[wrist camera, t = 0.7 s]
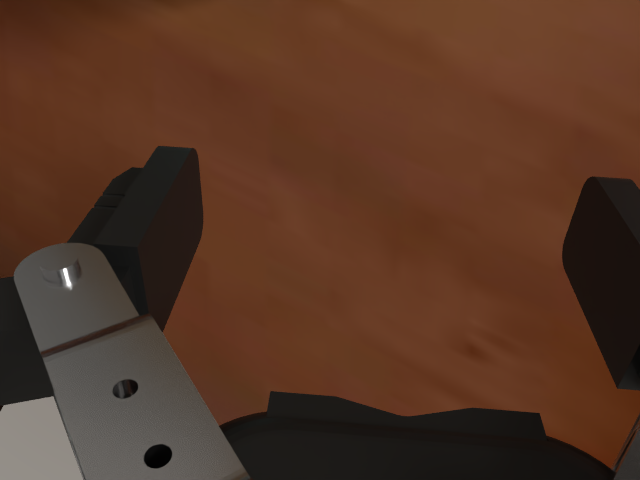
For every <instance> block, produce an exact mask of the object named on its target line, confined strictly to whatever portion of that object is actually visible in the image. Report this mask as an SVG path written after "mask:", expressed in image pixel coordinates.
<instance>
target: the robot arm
mask: <svg viewBox="0 0 640 480" xmlns="http://www.w3.org/2000/svg"><path fill="white" fill-rule="evenodd" d="M202 229H203V206H202V195H201V183H200V172H199V161H198V155H197V152H196V150H195V149H194V148H182V147H167V146H158V147H157V148H156V149H155V151H154V152H153V154H152V155H151V157H150V158H149V160H148V161H147V163H146V165H145V166H144V168H134V167H132V168H130V169H129V170H127V171H125V172H124V173H122V174H121V175H119V176H117V177H116V178H114V179H113V180H112V181H111V183H110V184H109V186H108V187H107V188H106V190H105V191H104V192H103V196H101V197H100V198H99V199H98V201H97V202H96V203H95V205H94V208H92V209H91V210H90V212H89V213H88V214H87V216H86V217H85V219H84V220H83V221H82V223H81V224H80V225H79V227H78V228H77V230H76V231H75V232H74V234H73V235H72V236H71V238H70V239H69V241H68V242H67V243H63V244H57V245H53V246H49V247H46V248H43V249H41V250H38V251H36V252H34V253H33V254H31V255H29V256H28V257H27V258H25V259H24V260H23V261H22V262H21V263H20V264H19V265H18V267H17V268H16V270H15V272H14V276H13V277H7V278H1V279H0V411H1V409H2V407H3V405H7V404H13V403H18V402H23V401H29V400H35V399H40V398H45V397H51V396H54V399H55V402H56V405H57V407H58V410H59V413H60V416H61V419H62V421H63V424H64V427H65V430H66V433H67V436H68V438H69V441H70V444H71V447H72V450H73V452H74V455H75V458H76V461H77V464H78V466H79V469H80V472H81V475H82V478H83V480H640V413H639V415H638V417H637V419H636V421H635V423H634V425H633V427H632V429H631V431H630V432H629V434H628V436H627V438H626V440H625V442H624V444H623V446H622V448H621V450H620V452H619V454H618V456H617V458H616V459H615V461H614V463H613V465H612V467H611V469H610V468H609V467H607V466H606V465H605V464H603V463H602V462H600V461H599V460H597V459H596V458H594V457H592V456H591V455H589V454H587V453H586V452H584V451H582V450H580V449H578V448H576V447H574V446H572V445H570V444H567V443H565V442H562V441H560V440H557V439H555V438H552V437H549V436H546V434H545V430H544V427H543V423H542V420H541V417H540V413H531V412H519V411H506V410H494V409H482V408H467V409H460V410H453V411H446V412H439V413H432V414H425V415H417V416H408V417H407V416H400V415H396V414H392V413H389V412H386V411H382V410H379V409H376V408H372V407H369V406H366V405H362V404H359V403H356V402H352V401H349V400H346V399H342V398H339V397H335V396H322V395H310V394H298V393H286V392H273V391H271V392H270V398H269V403H268V409H267V412H261V413H255V414H251V415H247V416H243V417H240V418H237V419H234V420H232V421H229V422H226V423H224V424H222V425H220V426H218V424H217V422H216V421H215V419H214V417H213V416H212V414H211V413H210V411H209V409H208V408H207V406H206V404H205V403H204V401H203V399H202V398H201V396H200V394H199V393H198V391H197V389H196V388H195V386H194V384H193V383H192V381H191V379H190V378H189V376H188V374H187V373H186V371H185V369H184V368H183V366H182V365H181V363H180V361H179V360H178V358H177V356H176V355H175V353H174V351H173V350H172V348H171V346H170V345H169V343H168V341H167V340H166V338H165V336H164V335H163V330H164V328H165V325H166V323H167V320H168V318H169V315H170V313H171V311H172V308H173V306H174V303H175V301H176V298H177V296H178V293H179V291H180V289H181V286H182V284H183V281H184V279H185V276H186V274H187V271H188V269H189V267H190V264H191V262H192V259H193V257H194V254H195V252H196V249H197V247H198V244H199V242H200V239H201V235H202ZM562 259H563V266H564V269H565V272H566V274H567V276H568V278H569V281H570V283H571V285H572V288H573V290H574V292H575V294H576V297H577V299H578V301H579V303H580V306H581V308H582V310H583V312H584V315H585V317H586V319H587V321H588V324H589V326H590V328H591V330H592V333H593V335H594V337H595V339H596V342H597V344H598V346H599V348H600V351H601V353H602V355H603V357H604V360H605V362H606V364H607V366H608V369H609V371H610V373H611V375H612V378H613V380H614V382H615V385H616V387H617V389H630V390H640V190H639V188H638V187H637V186H636V184H635V183H634V182H633V181H632V180H631V179H622V178H607V177H590V178H588V179H587V181H586V182H585V184H584V186H583V188H582V191H581V194H580V196H579V199H578V202H577V205H576V208H575V211H574V214H573V216H572V219H571V222H570V225H569V228H568V231H567V234H566V237H565V240H564V244H563V251H562Z"/></svg>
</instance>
